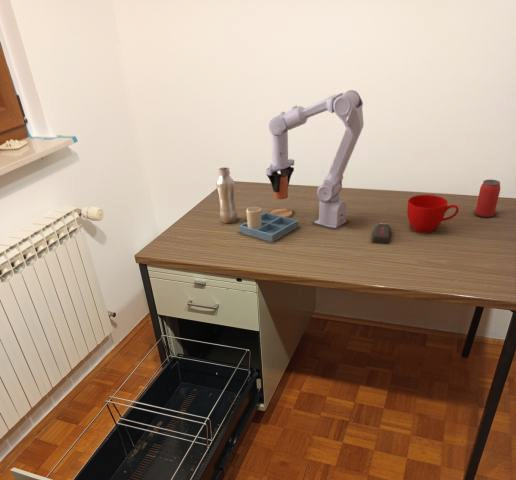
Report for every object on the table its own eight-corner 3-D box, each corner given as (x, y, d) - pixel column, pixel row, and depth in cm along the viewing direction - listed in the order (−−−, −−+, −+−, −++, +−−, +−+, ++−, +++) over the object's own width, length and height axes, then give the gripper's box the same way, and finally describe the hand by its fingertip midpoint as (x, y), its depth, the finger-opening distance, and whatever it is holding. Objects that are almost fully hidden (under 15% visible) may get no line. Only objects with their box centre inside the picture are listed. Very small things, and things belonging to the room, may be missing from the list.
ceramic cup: (456, 237, 167) (462, 209, 161) (405, 235, 170) (408, 207, 164) (452, 222, 177) (457, 195, 171) (403, 221, 180) (407, 194, 174)
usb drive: (372, 242, 167) (373, 234, 165) (375, 228, 176) (376, 221, 174) (388, 243, 165) (389, 235, 164) (390, 229, 175) (391, 222, 173)
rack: (298, 228, 180) (298, 220, 178) (272, 243, 171) (272, 235, 169) (265, 219, 188) (265, 212, 186) (239, 233, 179) (238, 225, 177)
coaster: (297, 212, 192) (297, 211, 192) (283, 220, 186) (283, 219, 186) (278, 208, 197) (278, 207, 196) (264, 215, 191) (264, 214, 191)
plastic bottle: (235, 225, 185) (231, 171, 173) (218, 225, 186) (212, 171, 174) (239, 219, 190) (235, 166, 178) (222, 218, 191) (217, 166, 179)
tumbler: (290, 196, 186) (290, 174, 181) (282, 200, 183) (281, 178, 178) (279, 193, 189) (279, 172, 184) (271, 197, 185) (270, 176, 181)
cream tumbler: (264, 229, 179) (263, 208, 174) (255, 234, 176) (254, 213, 171) (254, 226, 182) (252, 205, 177) (244, 231, 179) (243, 210, 174)
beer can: (491, 211, 183) (498, 178, 176) (496, 217, 178) (504, 184, 171) (472, 211, 184) (479, 179, 177) (477, 218, 179) (484, 185, 172)
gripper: (283, 145, 182) (284, 182, 190) (258, 155, 174) (260, 193, 182) (298, 148, 179) (298, 185, 187) (274, 158, 170) (275, 196, 178)
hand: (280, 189), depth 184 cm, fingers closed on tumbler, 5 cm apart
